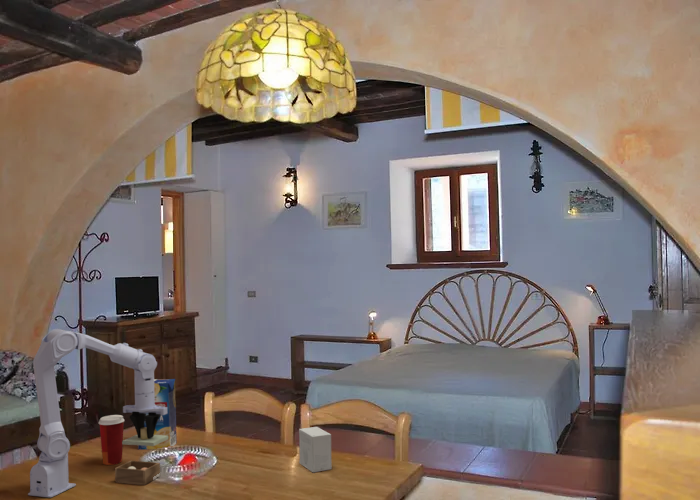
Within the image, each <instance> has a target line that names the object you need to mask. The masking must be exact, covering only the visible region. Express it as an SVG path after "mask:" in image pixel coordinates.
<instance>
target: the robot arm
mask: <svg viewBox="0 0 700 500" xmlns="http://www.w3.org/2000/svg"><path fill="white" fill-rule="evenodd" d="M129 345H130V344H128V343H126V342H123V343H121V342H120V343H118V342H117V344H114V345H113V344H111V343H110V344H109V343H108V342H105V341H103V340H101V339H98V338H96V337H93V336H90V335H88V334H84V333H80V332H76V331H70V330H64V329H61V328H54V329H53V328H52V329H51V330H50V331H49V332H48V333H46V334H45V336H43V337H42V339H41V343H40V344H39V347H38V349H37V352H36V354H35V355H34V358H33V361H32V362H33V363H32V365H33V371H34V380H35V388H36V396H37V403H38V411H39V412H38V413H39V419H40V427H39V429H38V431H39V436H38V439H37V442H36V443H37V448H38V450H39V451H40V454H39V457H38V459H39V460H38V462H37V463H36V464H34V465H33V466H32V467H31V469H30V470H29V471H30V472H29V482H30V483H29V484H30V485H29V487H30V489H29V492H28V493H27V496H33V497H42V498H53V497H55V496H57V495H59V494H61V493H64V492H66V491H67V490H69V489H71V488H74V487H76V486H77V484H76V483H71V482H69V451H70V450H71V449H70V448H71V442H70V441H69V439H68V438H67V437H66V433H65V428H64V425H63V423H62V420H61V412H60V404H59V396H58V388H57V381H56V380H57V379H56V373H55V366H56V365H57V364H58V363H59V361H60V360H61V359H62V358H64V357H65V356H67V355H68V354H71V353H72V352H74V350H77V351H79V350H82V349H89V350H92V351H95V352H97V353H101V354H104V355H107V356H108V357H109V358H110V361H111V362H112V363H116V364H118V365H120V366H124V367H127V368H129V369H133V370H134V371H133V372H134V404H129V405H128V404H127V405H124V406H122V413H124V414H126V413H127V414H128V413H131V415H129V419H130V421H131V422H132V424H133V427H134V429H135V431H136V435H138V438H141V428H144V423H145V422H146V427H147V438H152V437H153V436H154V431H155V427H156V424H157V422H158V419H159V417H160V416H161V415H165V414H167V413H168V412H167V407H161V406H157V405H155V392H154V379H155V370H156V368H157V366H158V361H156V357H155V356H154V355H153V354H151V353H147V352H144V351H143V349H140V348H138V349H137V348H134V347H131V346H129ZM146 413H147V414H148V415H146Z"/></svg>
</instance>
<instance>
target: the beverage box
mask: <svg viewBox="0 0 700 500" xmlns="http://www.w3.org/2000/svg"><path fill="white" fill-rule="evenodd" d="M154 392H155V405H157V406H161V407H167V412H168V413H167V414H165V415H161V416H160V417H159V419H158V422H157V424H156V427H155V431H154V435H164V436H168V439H167V440H165V441H163V442H161V443H159V444H157V445H155V446H143V445H137V450H139V451H140V450H158V449H157V448H162V447H168V446H173V447H174V446H175V445H176V444H177V443H178V441H177V440H178V439H177V403H176V378H170V379H168V378H167V379H166V378H163V379H162V378H161V379H158V378H156V379H155V378H154ZM146 415H148V414H147V413H146ZM144 427H146V422H145V423H144Z"/></svg>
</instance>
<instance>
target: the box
mask: <svg viewBox="0 0 700 500" xmlns="http://www.w3.org/2000/svg"><path fill="white" fill-rule="evenodd" d="M131 466H133V467H135V468H136V469H128V468H129V467H131ZM142 468H147V469H145V470H140V469H142ZM159 473H160V474H161V464H160V462H156V461H155V462H154V461H153V462H152V461H141V460H129V461H127V462H125V463H123V464H120V465H118V466H116V467H115V468H114V480H115V483H118V484H119V483H120V484H127V485H128V484H129V485H140V486H146V485H149V484H150V483H152V482H153V477H154V476H156V475H157V474H159Z"/></svg>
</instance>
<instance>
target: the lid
mask: <svg viewBox="0 0 700 500" xmlns="http://www.w3.org/2000/svg"><path fill="white" fill-rule="evenodd" d="M167 439H168V436H164V435H154V436H153V437H152V438H147V427H144V428H141V438H138V435H137V434H135V435H132V436H131V437H128V438H126V439H123V441H122V444H123V445H126V446H127V445H129V446H138V445H143V446H155V445H157V444H159V443H161V442H163V441H165V440H167Z"/></svg>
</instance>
